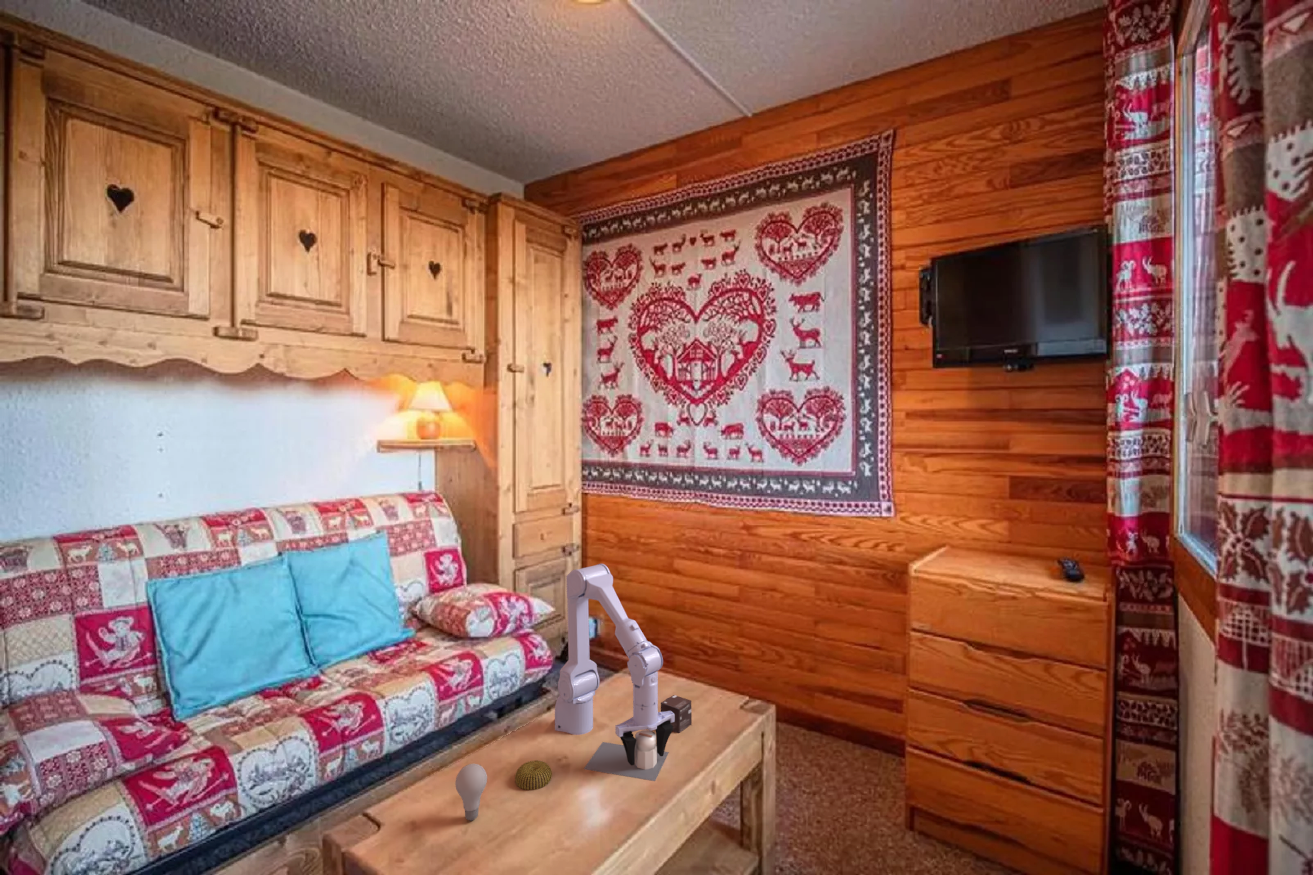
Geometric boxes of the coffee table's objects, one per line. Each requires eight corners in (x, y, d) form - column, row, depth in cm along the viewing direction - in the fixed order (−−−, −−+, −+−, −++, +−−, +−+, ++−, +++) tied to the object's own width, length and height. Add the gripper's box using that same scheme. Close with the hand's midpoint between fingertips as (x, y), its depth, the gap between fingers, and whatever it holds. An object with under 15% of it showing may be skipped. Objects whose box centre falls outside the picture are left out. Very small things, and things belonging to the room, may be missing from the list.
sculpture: (527, 782, 127) (508, 766, 133) (527, 800, 127) (508, 784, 133) (558, 767, 132) (538, 752, 138) (559, 784, 133) (539, 769, 138)
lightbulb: (476, 806, 125) (475, 754, 125) (493, 818, 121) (493, 764, 121) (449, 821, 120) (449, 767, 120) (467, 834, 116) (466, 778, 116)
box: (678, 737, 152) (678, 709, 152) (659, 730, 156) (659, 702, 156) (692, 727, 157) (692, 700, 157) (673, 721, 161) (673, 694, 160)
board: (583, 773, 137) (583, 768, 137) (602, 745, 148) (602, 742, 148) (655, 785, 132) (655, 781, 132) (668, 756, 144) (668, 752, 143)
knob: (650, 771, 136) (650, 741, 136) (631, 766, 138) (631, 737, 138) (659, 760, 140) (659, 731, 140) (640, 755, 142) (640, 727, 142)
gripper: (624, 715, 131) (624, 776, 132) (681, 700, 138) (681, 758, 139) (611, 702, 138) (611, 760, 138) (666, 688, 145) (666, 744, 145)
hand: (645, 758), depth 139 cm, fingers open, 7 cm apart
